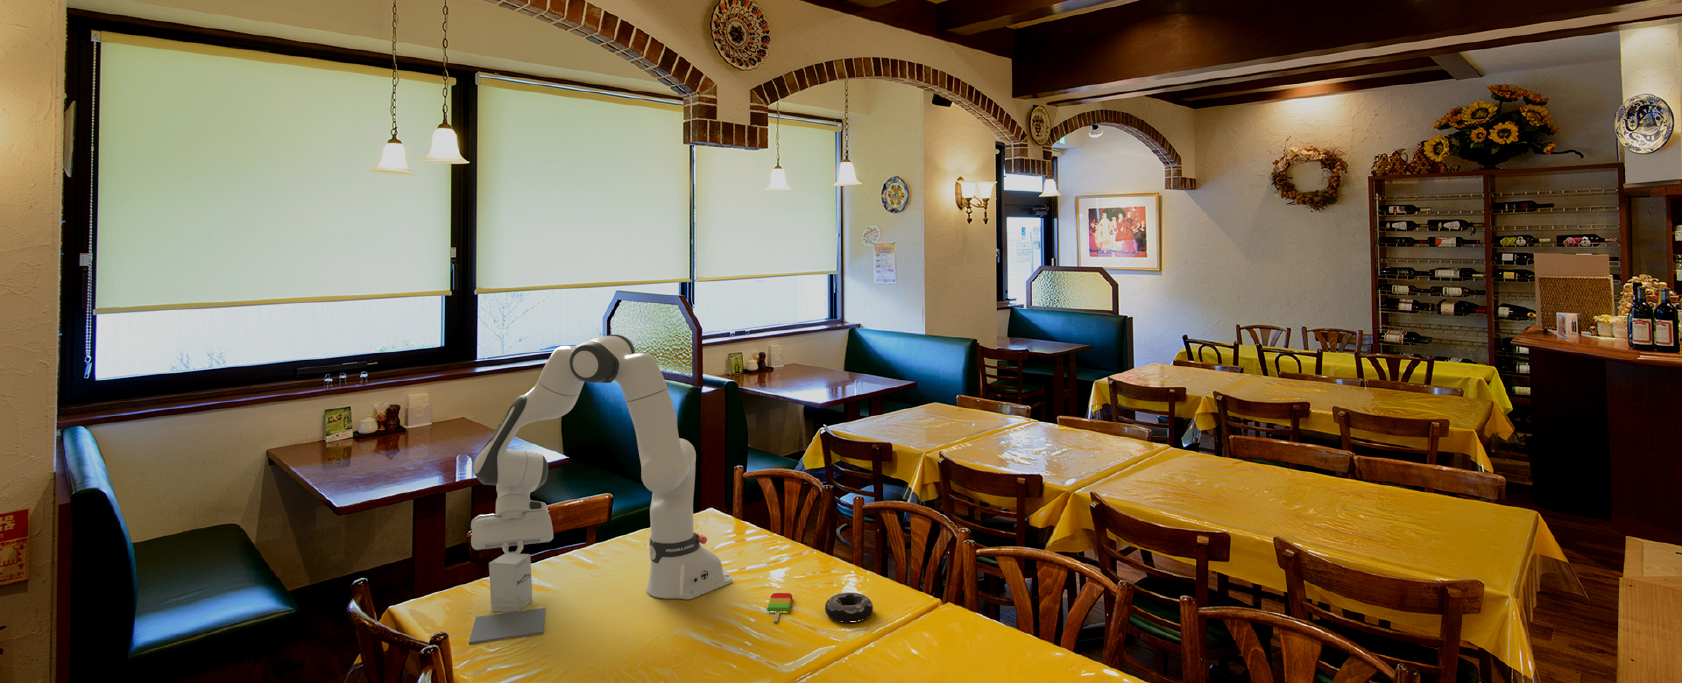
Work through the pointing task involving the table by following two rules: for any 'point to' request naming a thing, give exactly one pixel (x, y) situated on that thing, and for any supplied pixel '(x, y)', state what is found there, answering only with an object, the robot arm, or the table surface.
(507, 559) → the supplement box
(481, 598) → the table surface
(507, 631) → the rubber mat
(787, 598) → the popsicle
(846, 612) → the donut
